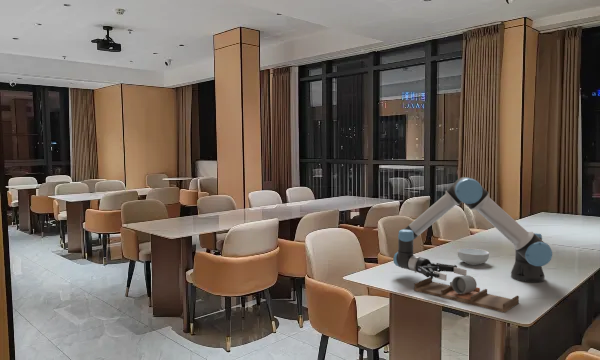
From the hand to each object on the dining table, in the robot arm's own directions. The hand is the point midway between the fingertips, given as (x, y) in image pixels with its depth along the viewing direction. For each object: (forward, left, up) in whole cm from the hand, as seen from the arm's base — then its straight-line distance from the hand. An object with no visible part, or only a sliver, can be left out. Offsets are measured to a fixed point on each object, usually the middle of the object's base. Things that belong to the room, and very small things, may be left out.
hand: (456, 275), depth 202 cm
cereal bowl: (-21, -59, -9) cm, 63 cm away
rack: (-3, +3, -9) cm, 10 cm away
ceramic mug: (-1, +2, -7) cm, 7 cm away
